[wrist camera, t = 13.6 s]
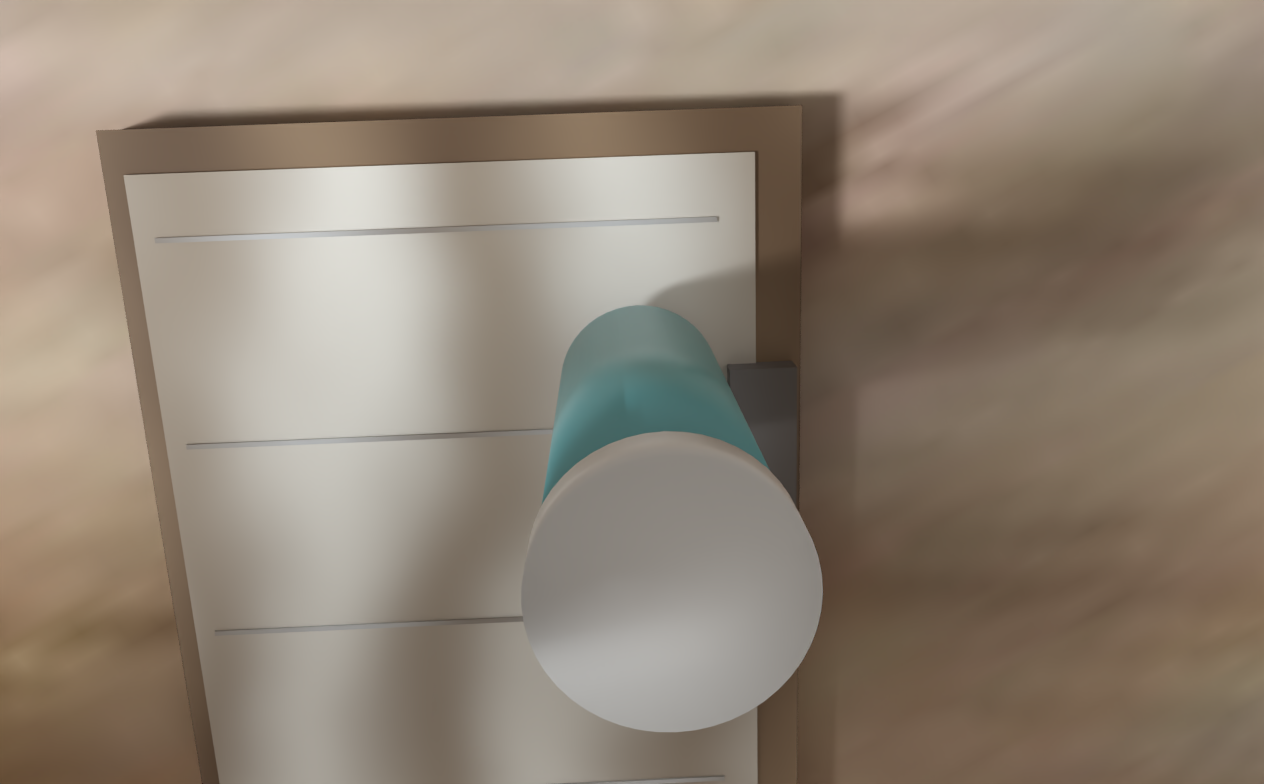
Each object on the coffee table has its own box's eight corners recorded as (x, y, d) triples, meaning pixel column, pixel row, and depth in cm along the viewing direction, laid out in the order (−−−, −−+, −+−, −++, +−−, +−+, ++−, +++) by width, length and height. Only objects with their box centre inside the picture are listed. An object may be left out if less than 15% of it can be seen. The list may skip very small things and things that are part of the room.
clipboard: (232, 849, 30) (208, 897, 28) (119, 130, 25) (80, 130, 23) (789, 821, 30) (801, 867, 28) (792, 105, 25) (807, 104, 23)
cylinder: (562, 446, 26) (530, 739, 14) (555, 293, 25) (511, 461, 13) (716, 439, 26) (820, 725, 14) (714, 286, 25) (825, 448, 13)
